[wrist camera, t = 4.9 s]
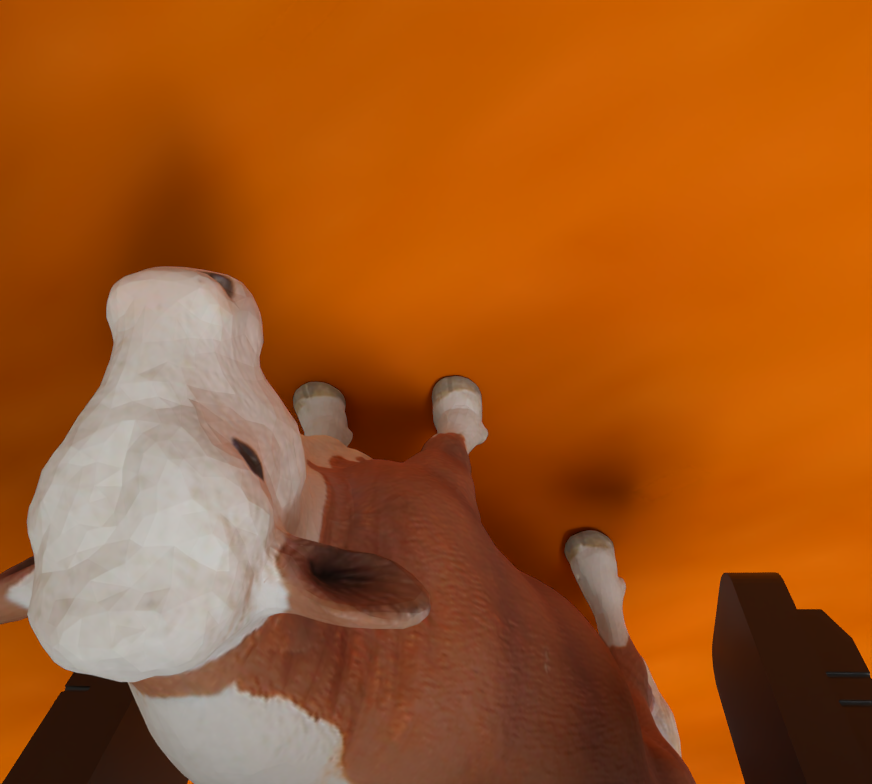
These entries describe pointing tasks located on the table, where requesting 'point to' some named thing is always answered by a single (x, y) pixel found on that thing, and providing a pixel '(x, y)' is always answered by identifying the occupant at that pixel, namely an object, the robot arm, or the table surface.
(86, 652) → the bull figurine
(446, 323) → the table surface
